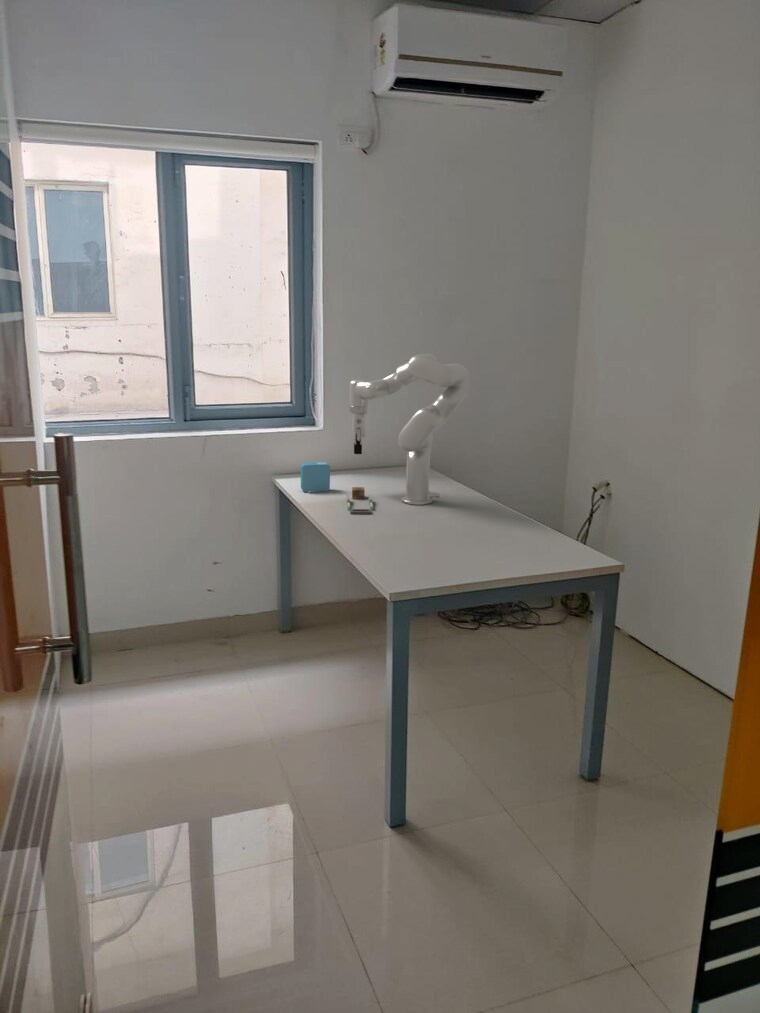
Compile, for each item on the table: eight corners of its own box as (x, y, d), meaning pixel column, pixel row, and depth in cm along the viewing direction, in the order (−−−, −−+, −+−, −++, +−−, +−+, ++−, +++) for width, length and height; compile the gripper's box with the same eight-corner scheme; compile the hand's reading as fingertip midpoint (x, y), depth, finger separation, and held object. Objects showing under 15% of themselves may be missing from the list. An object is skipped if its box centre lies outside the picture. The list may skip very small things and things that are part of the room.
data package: (328, 488, 339) (328, 461, 336) (329, 491, 335) (330, 464, 332) (300, 490, 337) (300, 462, 333) (302, 492, 332) (302, 464, 329)
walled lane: (370, 501, 320) (371, 495, 319) (371, 505, 313) (372, 499, 313) (346, 501, 319) (346, 495, 319) (347, 505, 313) (347, 499, 312)
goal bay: (372, 506, 312) (372, 502, 312) (372, 510, 307) (373, 506, 306) (347, 506, 312) (347, 502, 311) (347, 510, 306) (347, 506, 306)
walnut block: (363, 496, 328) (364, 487, 327) (364, 499, 323) (364, 490, 322) (351, 496, 328) (352, 487, 327) (352, 499, 323) (352, 490, 322)
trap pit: (370, 511, 305) (370, 509, 304) (371, 514, 301) (371, 511, 300) (350, 511, 304) (350, 509, 304) (350, 514, 300) (350, 511, 300)
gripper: (368, 412, 318) (367, 457, 322) (366, 407, 333) (365, 449, 338) (350, 412, 317) (349, 457, 322) (348, 407, 333) (348, 449, 337)
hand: (357, 453), depth 330 cm, fingers closed
